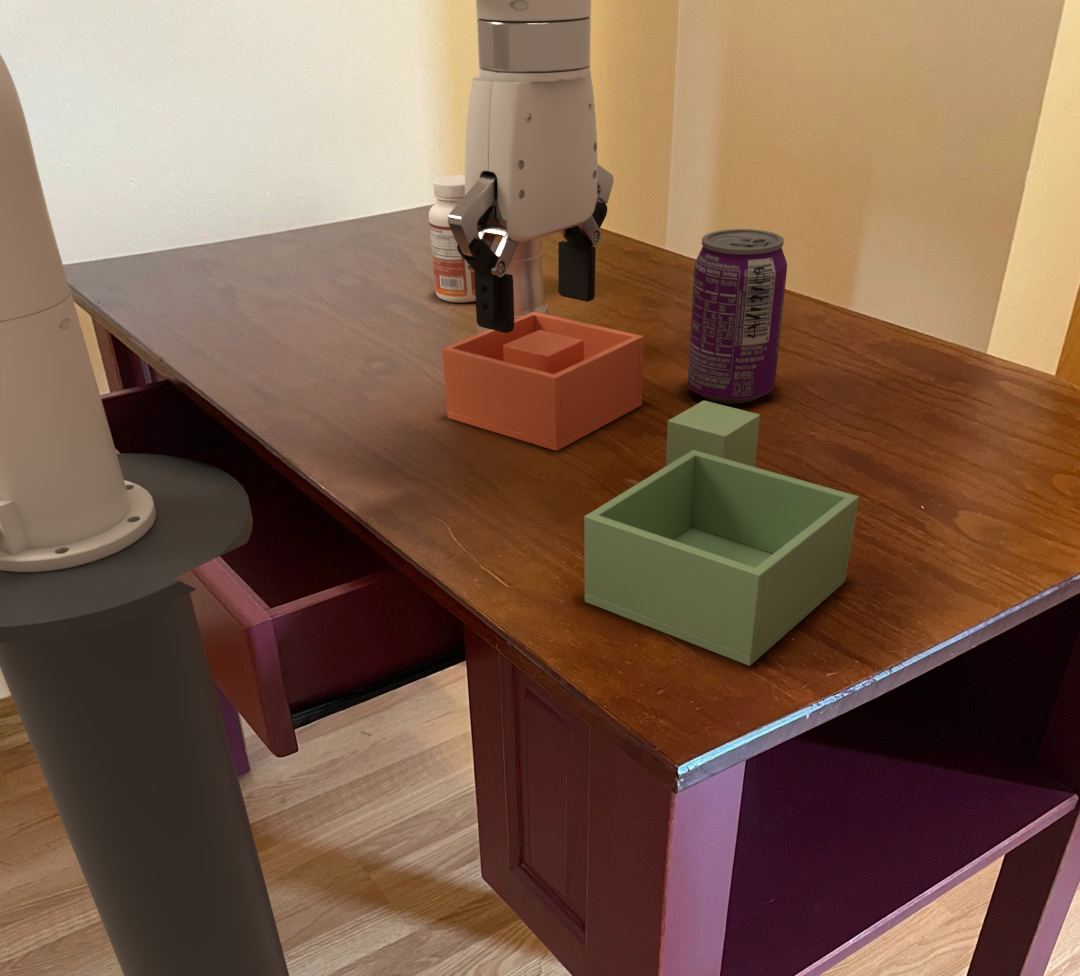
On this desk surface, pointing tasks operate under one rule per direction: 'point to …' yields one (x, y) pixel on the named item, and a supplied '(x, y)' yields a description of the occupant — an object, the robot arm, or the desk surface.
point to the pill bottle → (449, 244)
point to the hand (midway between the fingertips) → (537, 312)
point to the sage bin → (718, 553)
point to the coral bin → (544, 383)
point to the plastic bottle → (525, 279)
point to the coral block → (544, 351)
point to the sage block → (714, 433)
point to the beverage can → (736, 315)
